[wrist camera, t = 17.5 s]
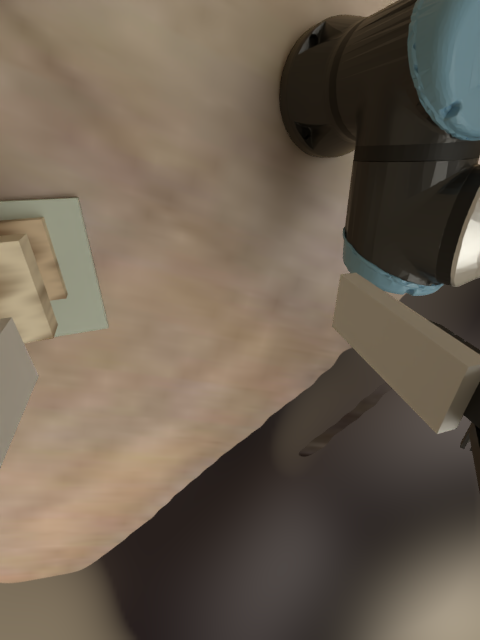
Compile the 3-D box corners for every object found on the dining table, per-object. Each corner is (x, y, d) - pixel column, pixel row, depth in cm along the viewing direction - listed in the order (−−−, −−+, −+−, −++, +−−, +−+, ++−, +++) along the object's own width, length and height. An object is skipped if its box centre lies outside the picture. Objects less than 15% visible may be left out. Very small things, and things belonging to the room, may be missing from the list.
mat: (78, 197, 38) (77, 198, 38) (108, 325, 47) (108, 328, 46) (-109, 205, 33) (-113, 207, 32) (-36, 348, 42) (-39, 351, 41)
